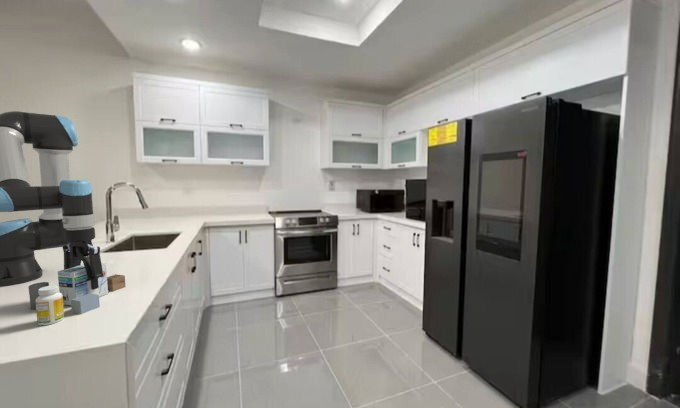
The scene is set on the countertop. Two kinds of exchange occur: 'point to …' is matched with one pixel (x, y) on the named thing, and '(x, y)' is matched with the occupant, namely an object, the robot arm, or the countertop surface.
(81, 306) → the slate-blue block
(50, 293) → the supplement bottle
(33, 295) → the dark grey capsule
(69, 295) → the light bulb box
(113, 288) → the walnut block
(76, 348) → the countertop surface
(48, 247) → the robot arm
